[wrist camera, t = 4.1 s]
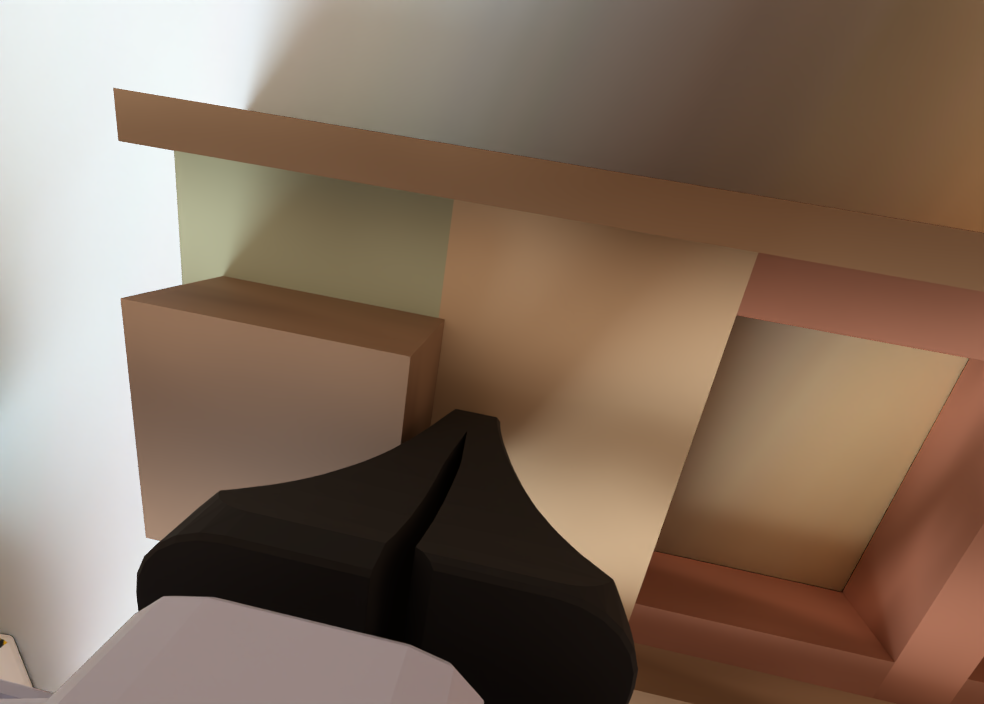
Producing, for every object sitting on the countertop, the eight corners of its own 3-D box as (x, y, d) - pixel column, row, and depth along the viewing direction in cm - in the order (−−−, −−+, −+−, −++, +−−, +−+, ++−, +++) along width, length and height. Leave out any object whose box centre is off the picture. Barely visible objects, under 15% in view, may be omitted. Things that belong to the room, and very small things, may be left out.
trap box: (1126, 716, 16) (1311, 880, 12) (247, 516, 18) (164, 601, 14) (1482, 331, 11) (1968, 397, 7) (239, 121, 13) (113, 87, 9)
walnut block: (418, 511, 13) (383, 593, 11) (228, 469, 14) (146, 537, 11) (444, 319, 12) (410, 356, 9) (222, 275, 12) (120, 298, 9)
